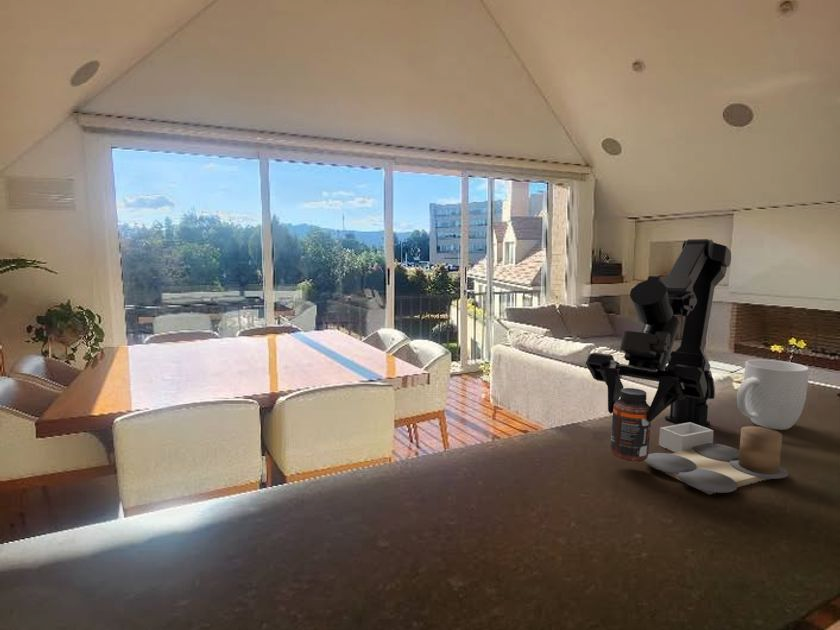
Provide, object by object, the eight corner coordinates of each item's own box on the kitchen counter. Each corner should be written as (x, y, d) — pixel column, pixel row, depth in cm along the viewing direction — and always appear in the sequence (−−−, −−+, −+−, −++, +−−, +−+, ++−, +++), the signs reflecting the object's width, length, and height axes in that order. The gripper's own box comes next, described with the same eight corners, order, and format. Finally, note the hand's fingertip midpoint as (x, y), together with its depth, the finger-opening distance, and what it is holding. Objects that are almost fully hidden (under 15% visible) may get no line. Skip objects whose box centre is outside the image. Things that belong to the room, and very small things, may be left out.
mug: (762, 438, 99) (767, 373, 97) (714, 420, 109) (718, 362, 108) (816, 430, 103) (822, 368, 102) (765, 414, 114) (770, 357, 112)
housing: (658, 445, 95) (659, 427, 95) (689, 439, 99) (690, 422, 98) (681, 455, 91) (682, 436, 90) (712, 448, 94) (713, 430, 94)
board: (633, 463, 87) (635, 423, 86) (713, 446, 95) (716, 409, 94) (712, 503, 73) (715, 456, 73) (798, 479, 81) (803, 436, 80)
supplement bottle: (654, 463, 82) (659, 396, 80) (617, 462, 82) (622, 395, 80) (639, 448, 88) (644, 386, 86) (604, 448, 88) (609, 385, 86)
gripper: (592, 308, 91) (560, 379, 84) (707, 317, 78) (680, 402, 71) (608, 344, 97) (580, 413, 91) (717, 358, 85) (693, 439, 78)
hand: (628, 416), depth 83 cm, fingers closed on supplement bottle, 6 cm apart
